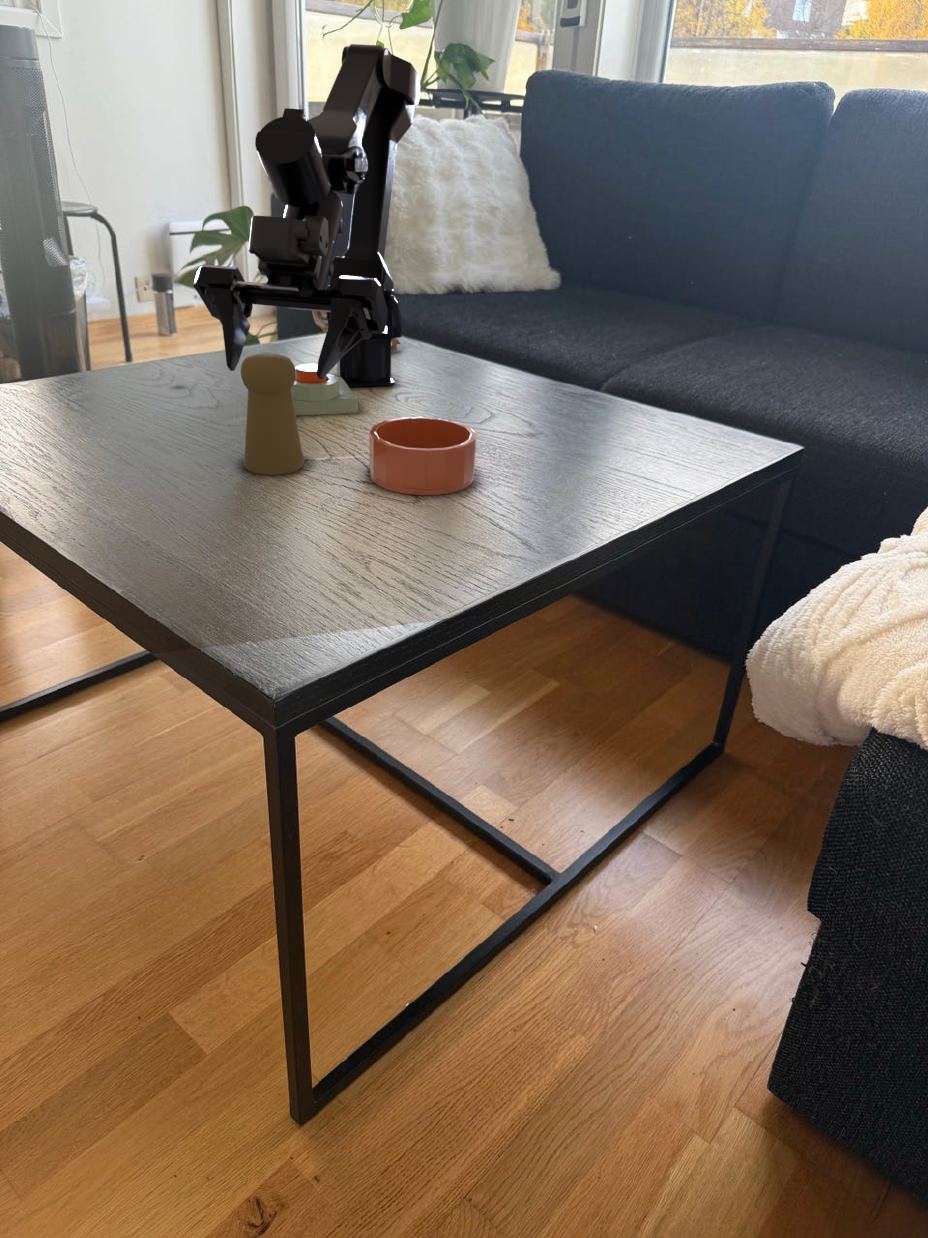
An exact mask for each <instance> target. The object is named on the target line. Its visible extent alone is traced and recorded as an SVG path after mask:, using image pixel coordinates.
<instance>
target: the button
mask: <svg viewBox="0 0 928 1238" xmlns="http://www.w3.org/2000/svg"><path fill="white" fill-rule="evenodd" d="M317 366H318V363H304V364H298V365H297V366H295V370H296V381H297V382H300V383H307V384H316V383H323V382H327V378H326V376H325V377H324V378H323V379H318V376H317Z"/></svg>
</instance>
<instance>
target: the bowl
mask: <svg viewBox="0 0 928 1238" xmlns="http://www.w3.org/2000/svg"><path fill="white" fill-rule="evenodd" d="M368 437H369V438H368V440H369V441H368V446H369V447H368V448H369V449H368V451H369V455H368V456H369V458H368V459H369V471H370V473H369V474H370V479H371V481H372V482H373V483H375V485H377V486H379V487H381V488H383V489H386V490H388V491H391V492H395V493H400V494H405V495H413V496H440V495H446V494H447V495H448V494H452V493H456V492H459V491H462V490H464V489H466V488H468V487H469V486H470V485H471V484H473V481H474V478H475V477H474V475H475V469H476V452H477V450H476V449H477V433H476V431H475V430H474V429H473V428H471V427H470V426H468V425H466V424H463V423H461V422H458V421H455V420H451V419H446V418H441V417H428V416H407V417H397V418H392V419H387V420H383V421H381V422H378V423H376V424H374V425H372V427H371V429H370V430H369V433H368Z"/></svg>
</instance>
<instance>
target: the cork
mask: <svg viewBox="0 0 928 1238" xmlns="http://www.w3.org/2000/svg"><path fill="white" fill-rule="evenodd" d="M240 377H241V380H242V383H243V385H244V386H245V388H246V389H247V403H246V418H245V419H246V420H245V436H244V437H245V438H244V441H245V442H244V454H243V467H244V469H246V470H247V471H249V472H252V473H254V474H258V475H267V476H268V475H269V476H271V475H272V476H276V475H287V474H291V473H294V472H297V471H299V470H301V469H303V468H304V466H305V460H304V454H303V450H302V444H301V440H300V433H299V427H298V421H297V415H295V410H294V405H293V400H292V394H291V388H292V386H293V385H294V383H295V378H296V366H295V364H294V363H293V361H292V359H291V358H290V357H289V356H287V355H285V354H282V353H277V352H259V353H253V354H250V355H248V356H246V357H245V358H244V359H243V361H242V362H241V365H240Z"/></svg>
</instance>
